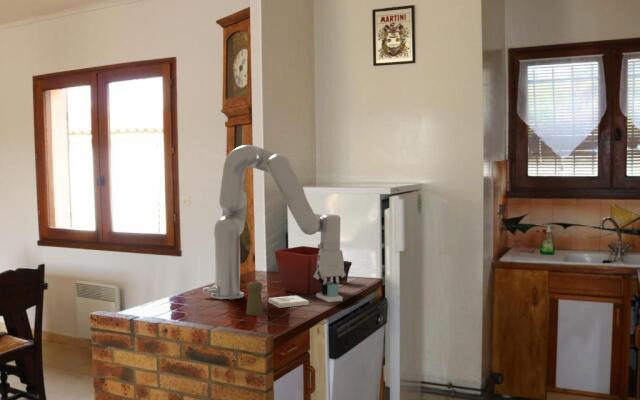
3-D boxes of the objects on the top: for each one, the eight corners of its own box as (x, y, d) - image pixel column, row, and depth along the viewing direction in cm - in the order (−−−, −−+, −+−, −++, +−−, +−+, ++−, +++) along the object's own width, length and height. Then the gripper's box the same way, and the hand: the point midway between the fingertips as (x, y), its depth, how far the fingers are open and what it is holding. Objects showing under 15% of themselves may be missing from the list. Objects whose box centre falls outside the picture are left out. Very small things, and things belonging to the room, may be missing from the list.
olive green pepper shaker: (254, 310, 207) (255, 279, 207) (266, 313, 203) (267, 281, 203) (242, 313, 202) (242, 281, 202) (254, 316, 199) (254, 284, 198)
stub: (328, 302, 221) (328, 286, 221) (316, 296, 230) (316, 281, 229) (342, 300, 224) (342, 285, 223) (329, 295, 232) (330, 280, 232)
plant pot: (309, 298, 229) (310, 255, 228) (273, 291, 240) (273, 250, 239) (338, 290, 244) (338, 250, 243) (302, 284, 255) (302, 245, 254)
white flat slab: (279, 307, 211) (279, 303, 211) (268, 302, 220) (268, 297, 220) (308, 304, 217) (308, 300, 217) (297, 299, 226) (297, 295, 226)
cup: (324, 281, 260) (327, 258, 260) (338, 281, 266) (342, 259, 266) (338, 285, 253) (341, 262, 253) (352, 285, 259) (356, 263, 259)
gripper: (315, 249, 218) (314, 297, 219) (353, 246, 226) (352, 294, 227) (306, 246, 225) (305, 293, 226) (344, 244, 233) (343, 290, 234)
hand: (329, 293), depth 227 cm, fingers closed on stub, 3 cm apart
